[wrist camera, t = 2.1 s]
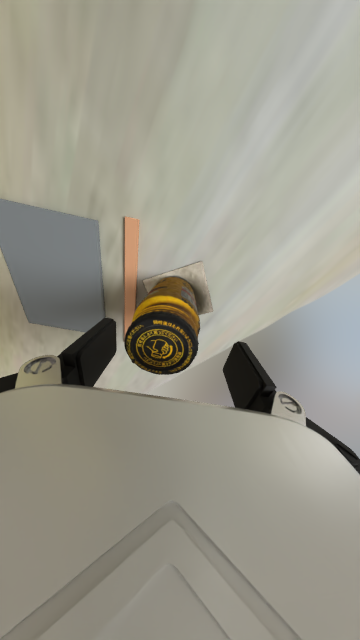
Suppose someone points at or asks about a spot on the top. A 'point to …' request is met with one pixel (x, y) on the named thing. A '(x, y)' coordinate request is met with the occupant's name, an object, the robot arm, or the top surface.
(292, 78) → the top surface
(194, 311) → the condiment
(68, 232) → the mat
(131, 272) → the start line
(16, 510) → the robot arm
